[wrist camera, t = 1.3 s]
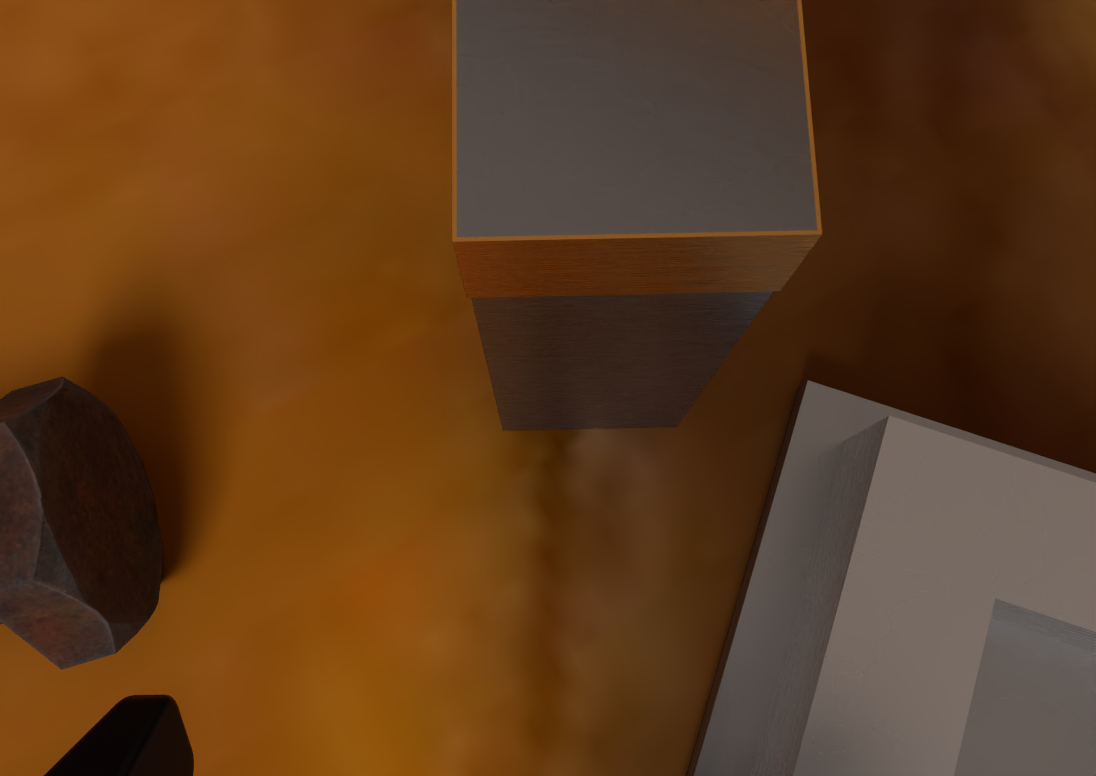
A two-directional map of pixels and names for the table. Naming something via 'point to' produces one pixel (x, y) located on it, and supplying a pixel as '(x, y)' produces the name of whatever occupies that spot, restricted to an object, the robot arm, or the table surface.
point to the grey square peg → (625, 195)
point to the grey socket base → (909, 607)
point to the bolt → (73, 525)
